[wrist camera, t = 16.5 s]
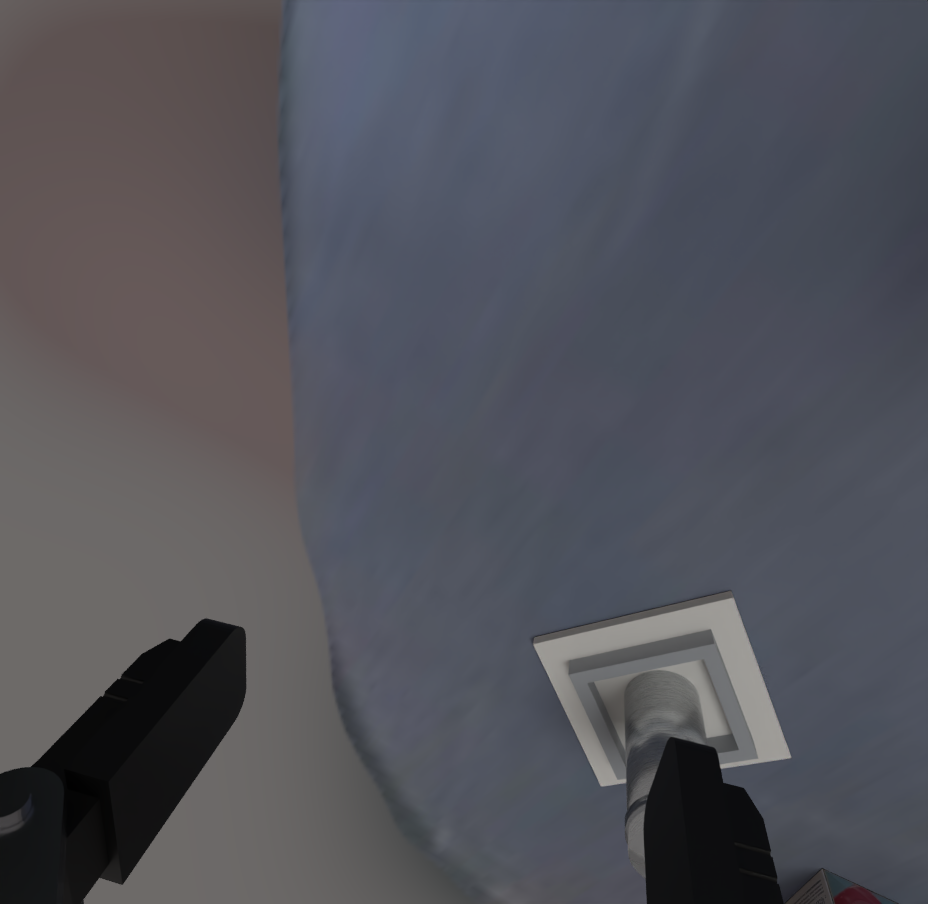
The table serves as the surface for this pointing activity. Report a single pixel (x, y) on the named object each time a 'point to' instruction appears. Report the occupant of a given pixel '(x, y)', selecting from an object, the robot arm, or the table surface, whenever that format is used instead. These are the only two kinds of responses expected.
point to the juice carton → (835, 892)
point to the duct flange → (670, 649)
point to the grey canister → (654, 741)
